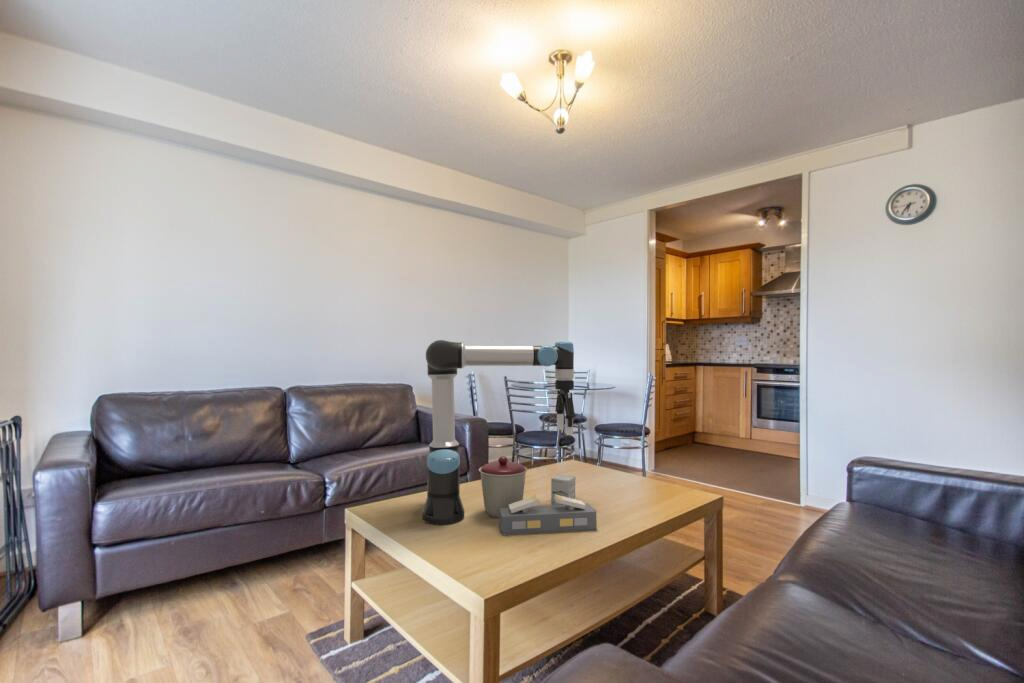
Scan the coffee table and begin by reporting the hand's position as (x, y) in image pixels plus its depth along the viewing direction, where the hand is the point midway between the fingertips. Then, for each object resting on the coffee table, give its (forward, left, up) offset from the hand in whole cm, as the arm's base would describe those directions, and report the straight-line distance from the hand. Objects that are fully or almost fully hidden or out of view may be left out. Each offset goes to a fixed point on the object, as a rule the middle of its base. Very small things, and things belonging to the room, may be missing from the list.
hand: (564, 432), depth 191 cm
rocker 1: (-22, -27, -19) cm, 40 cm away
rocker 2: (-6, -27, -19) cm, 34 cm away
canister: (-26, -11, -28) cm, 40 cm away
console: (-13, -27, -28) cm, 41 cm away
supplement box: (-3, -11, -28) cm, 30 cm away
